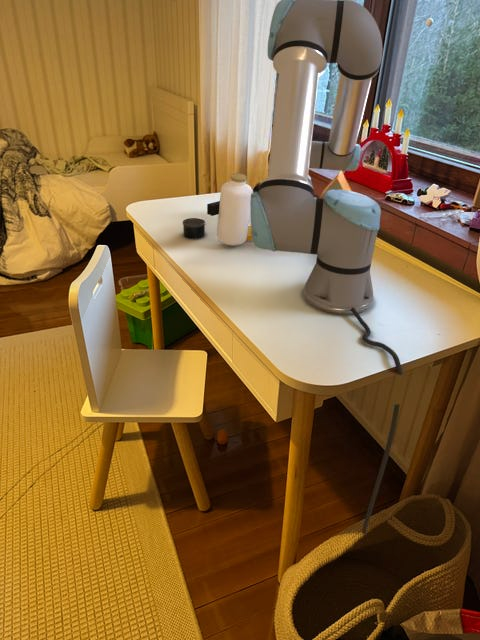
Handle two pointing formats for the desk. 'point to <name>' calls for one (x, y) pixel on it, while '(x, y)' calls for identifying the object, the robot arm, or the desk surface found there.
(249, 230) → the mustard block
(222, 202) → the potion bottle
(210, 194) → the desk surface
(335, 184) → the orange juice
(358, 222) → the robot arm
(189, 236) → the dark tin
